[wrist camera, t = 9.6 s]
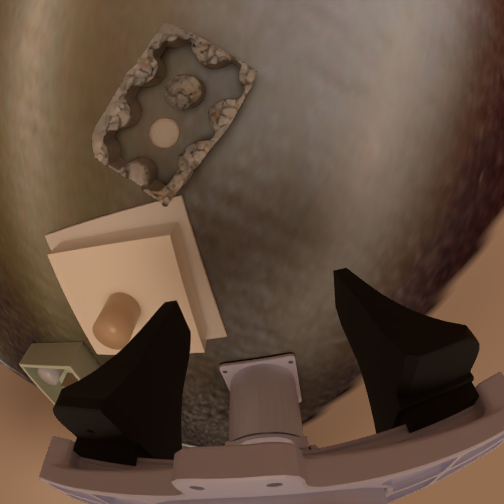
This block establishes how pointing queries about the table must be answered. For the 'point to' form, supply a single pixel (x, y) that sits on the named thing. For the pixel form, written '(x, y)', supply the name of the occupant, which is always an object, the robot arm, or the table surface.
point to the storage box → (57, 365)
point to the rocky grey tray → (165, 129)
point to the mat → (147, 217)
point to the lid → (127, 283)
